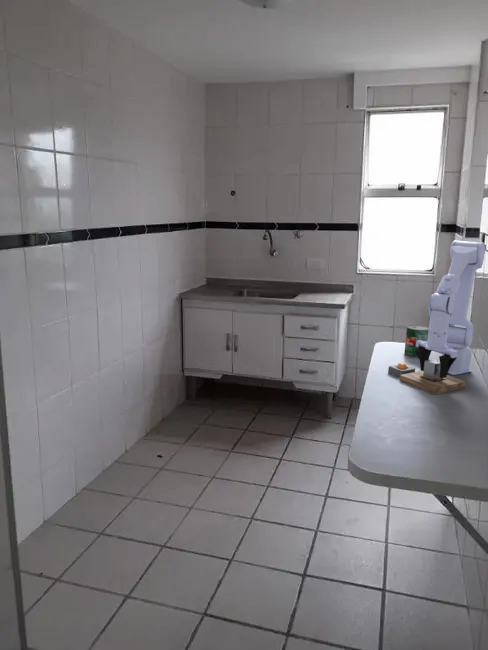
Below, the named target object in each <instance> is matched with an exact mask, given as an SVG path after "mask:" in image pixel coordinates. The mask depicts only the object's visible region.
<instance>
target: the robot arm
mask: <svg viewBox="0 0 488 650" xmlns="http://www.w3.org/2000/svg"><path fill="white" fill-rule="evenodd" d="M485 254H486V245H485V243H484V242H483V241H478V242H477V241H467V240H465V241H463V240H458V239H457V240H456V239H454V240H453V241H452V242H451V244H450V246H449V256H450V260H451V262H450V266H449V269H448V273H447V274H445V275H443V276H442V278H441V280H440V281H439V284H438V286H437V288H436V291H435V292H434V293H433V294H431V295H430V297H429V300H428V304H427V305H428V306H427V307H428V308H427V309H428V317H429V324H428V328H429V330H428V339H427V342H426V341H422V340H418V341H416V347H419V348H418V349H415V352H416V353H417V356H418V358H419V359H418V362H419V367H420V368H419V369H420V371H424V364H425V361H426V360H430V356H431V353H432V352H435V353H438V354H441V355H439V356H438V357H439V358H438V359H439V361H440V378H445V377H446V376H447V375H448V374H450V375H453V376H456V375H461V374H465V373H471V372H472V369H470V367H471V361H472V350H471V348H470V347H469V346H471V344H472V342H473V338H474V324H473V323H472V322H471V321H470V320H469V319H468V318H467V316H468V313H469V312H468V311H469V305H470V301H471V295H472V289H473V285H474V281H475V275H476V273H477V270H479V269H481V268H482V267H483V265H484V259H485V256H486V255H485Z"/></svg>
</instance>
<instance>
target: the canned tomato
mask: <svg viewBox="0 0 488 650" xmlns="http://www.w3.org/2000/svg"><path fill="white" fill-rule="evenodd" d="M428 330H429V326H425V325H421V324H419V325H418V324H408V325H407V326H406V333H405V344H404V353H403V355H404V356H405V357H407V358H411V359H415V358H417V360H419V358H418V356H417V353H416V352H415V349H418V348H419V347H416V341H418V340H422V341H426V342H427V339H428Z"/></svg>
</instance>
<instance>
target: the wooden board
mask: <svg viewBox="0 0 488 650" xmlns="http://www.w3.org/2000/svg"><path fill="white" fill-rule="evenodd" d="M423 373H424V371H421V370H418V371H415V372H413V373H408V374H402V375H400V378H399V382H401V381H402V383H403V384H406V383H407V385H409V386H412V387H414V388H418V389H419V390H421V391H425V392H427V393H430V394H432V395H439V394H443V393H447V392H452V391H457V390H461V389H465V388H466V387H467V386H466V384H467V381H466V380H462V379H459V378H456V377H453V376H450V375H448V374H447V376H446V377H445V378H442V381H438V382H431V381H429V380H426V379H423Z"/></svg>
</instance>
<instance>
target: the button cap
mask: <svg viewBox="0 0 488 650" xmlns="http://www.w3.org/2000/svg"><path fill="white" fill-rule="evenodd" d="M407 364H408V363H405V362H398V363H397V365H398V368H400V369H406V367H407V366H408V365H407Z"/></svg>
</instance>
